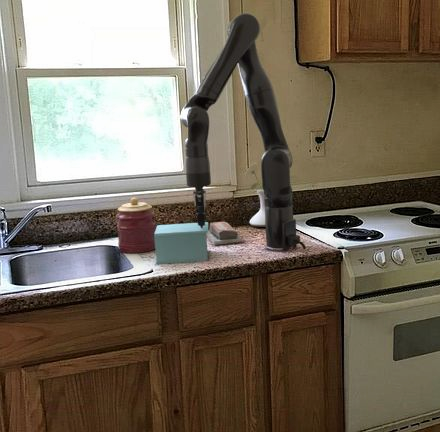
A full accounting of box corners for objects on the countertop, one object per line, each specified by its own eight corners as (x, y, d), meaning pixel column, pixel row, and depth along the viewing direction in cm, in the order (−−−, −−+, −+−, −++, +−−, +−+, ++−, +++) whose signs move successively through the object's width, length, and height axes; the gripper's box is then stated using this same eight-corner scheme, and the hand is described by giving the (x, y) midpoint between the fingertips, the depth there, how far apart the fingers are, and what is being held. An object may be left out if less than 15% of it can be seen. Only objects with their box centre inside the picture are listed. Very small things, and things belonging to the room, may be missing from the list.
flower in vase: (267, 221, 253) (264, 158, 249) (285, 225, 245) (282, 160, 240) (240, 226, 246) (236, 162, 241) (257, 231, 237) (253, 164, 232)
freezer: (207, 250, 211) (205, 224, 209) (207, 260, 199) (205, 233, 197) (159, 253, 209) (157, 227, 207) (156, 264, 197) (154, 236, 195)
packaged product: (203, 222, 233) (230, 219, 236) (204, 235, 234) (231, 232, 237) (213, 232, 216) (242, 229, 219) (214, 246, 217) (242, 242, 220)
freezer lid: (208, 224, 209) (207, 208, 208) (208, 232, 197) (207, 215, 196) (157, 227, 207) (156, 211, 206) (154, 236, 195) (152, 219, 194)
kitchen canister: (146, 242, 226) (142, 193, 223) (164, 248, 217) (160, 196, 213) (112, 249, 218) (107, 198, 215) (130, 255, 208) (125, 202, 205)
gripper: (210, 172, 193) (213, 227, 196) (210, 167, 207) (213, 218, 210) (185, 174, 192) (189, 229, 195) (186, 168, 206) (190, 220, 209)
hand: (201, 223), depth 203 cm, fingers closed on freezer lid, 5 cm apart
